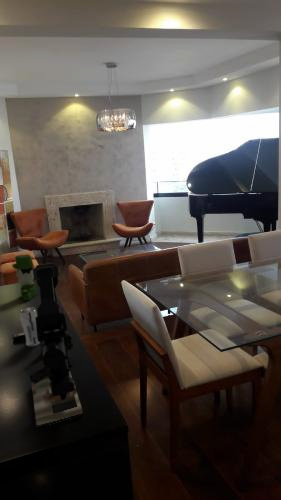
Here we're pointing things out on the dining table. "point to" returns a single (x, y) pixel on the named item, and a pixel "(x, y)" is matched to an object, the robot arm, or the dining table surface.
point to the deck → (52, 403)
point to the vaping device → (42, 342)
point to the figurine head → (25, 276)
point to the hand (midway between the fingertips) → (63, 399)
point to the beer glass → (29, 325)
